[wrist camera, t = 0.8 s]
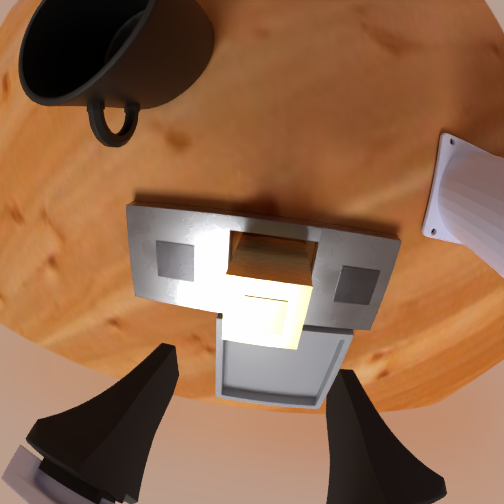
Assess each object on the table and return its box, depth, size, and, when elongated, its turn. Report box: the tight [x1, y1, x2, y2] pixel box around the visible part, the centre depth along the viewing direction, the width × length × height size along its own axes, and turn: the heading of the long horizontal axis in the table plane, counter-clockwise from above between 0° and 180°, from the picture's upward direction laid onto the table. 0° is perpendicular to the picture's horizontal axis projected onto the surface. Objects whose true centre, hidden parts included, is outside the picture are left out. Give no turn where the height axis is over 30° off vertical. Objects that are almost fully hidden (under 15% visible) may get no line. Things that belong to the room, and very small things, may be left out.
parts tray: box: [216, 313, 354, 409], centre depth 24 cm, size 11×11×2 cm
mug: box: [18, 0, 214, 147], centre depth 11 cm, size 9×12×9 cm
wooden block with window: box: [222, 235, 313, 349], centre depth 18 cm, size 5×5×6 cm
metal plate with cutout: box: [126, 201, 402, 330], centre depth 20 cm, size 20×8×1 cm, turn 85°
